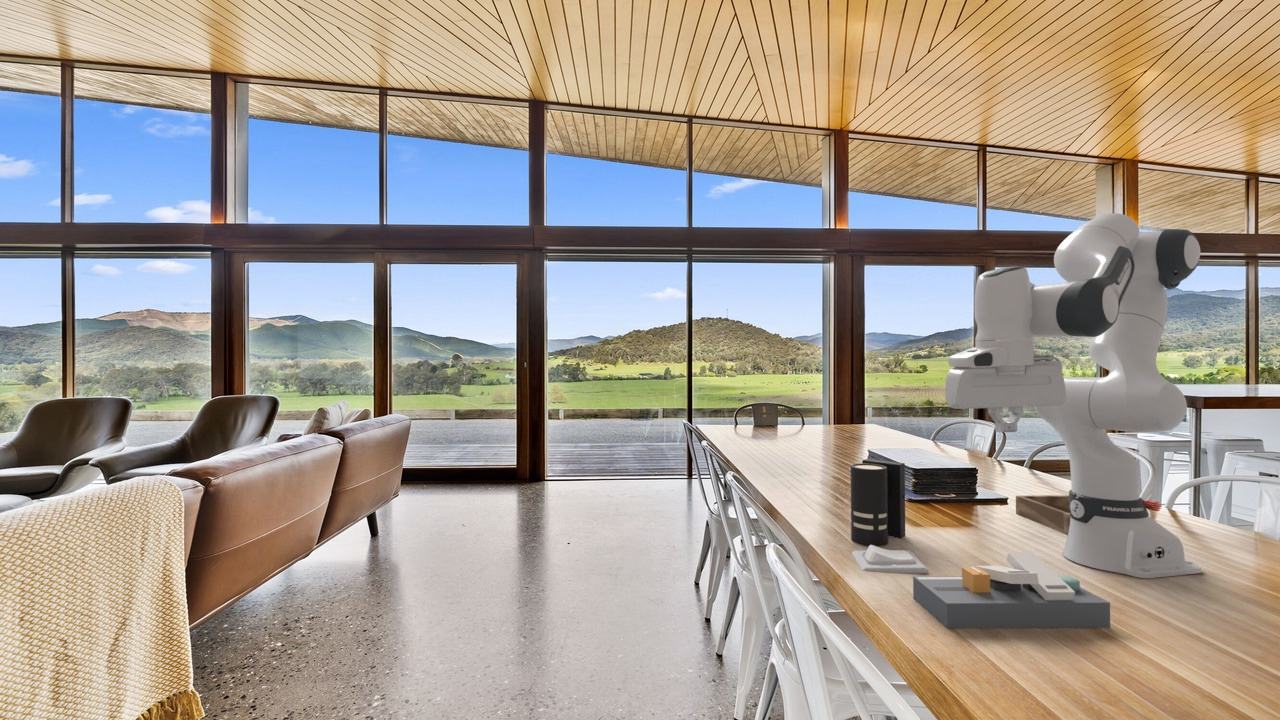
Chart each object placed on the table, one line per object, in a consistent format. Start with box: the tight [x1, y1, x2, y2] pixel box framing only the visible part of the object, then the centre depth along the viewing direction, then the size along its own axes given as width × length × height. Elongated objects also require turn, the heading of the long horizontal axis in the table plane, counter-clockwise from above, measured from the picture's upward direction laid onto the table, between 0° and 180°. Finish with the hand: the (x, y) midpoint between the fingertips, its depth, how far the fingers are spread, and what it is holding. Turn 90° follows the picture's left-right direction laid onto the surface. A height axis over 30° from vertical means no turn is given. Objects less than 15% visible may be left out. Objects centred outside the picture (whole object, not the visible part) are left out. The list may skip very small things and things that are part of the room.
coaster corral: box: [1015, 494, 1071, 536], centre depth 143 cm, size 19×19×5 cm
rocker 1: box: [973, 565, 1039, 584], centre depth 93 cm, size 4×10×2 cm, turn 179°
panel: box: [912, 575, 1111, 629], centre depth 93 cm, size 26×11×5 cm, turn 89°
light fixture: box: [850, 458, 906, 548], centre depth 132 cm, size 10×14×18 cm
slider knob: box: [961, 566, 990, 593], centre depth 93 cm, size 3×3×3 cm
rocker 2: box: [1006, 551, 1075, 601], centre depth 93 cm, size 4×10×2 cm, turn 179°
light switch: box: [851, 545, 930, 574], centre depth 117 cm, size 11×4×13 cm
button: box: [1058, 575, 1081, 592], centre depth 93 cm, size 3×3×1 cm
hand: (1006, 431), depth 100 cm, fingers closed
